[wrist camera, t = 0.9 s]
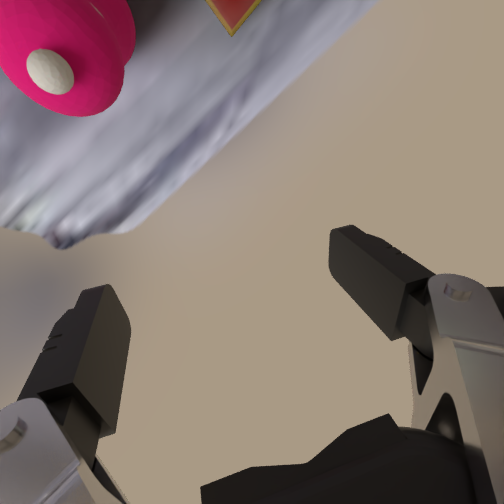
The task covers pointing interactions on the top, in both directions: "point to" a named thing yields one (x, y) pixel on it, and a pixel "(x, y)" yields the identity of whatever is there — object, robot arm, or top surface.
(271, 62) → the top surface
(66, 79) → the pepper mill
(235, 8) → the hardcover book
